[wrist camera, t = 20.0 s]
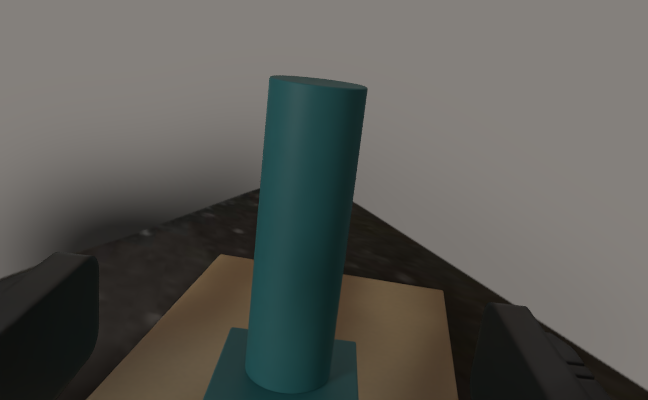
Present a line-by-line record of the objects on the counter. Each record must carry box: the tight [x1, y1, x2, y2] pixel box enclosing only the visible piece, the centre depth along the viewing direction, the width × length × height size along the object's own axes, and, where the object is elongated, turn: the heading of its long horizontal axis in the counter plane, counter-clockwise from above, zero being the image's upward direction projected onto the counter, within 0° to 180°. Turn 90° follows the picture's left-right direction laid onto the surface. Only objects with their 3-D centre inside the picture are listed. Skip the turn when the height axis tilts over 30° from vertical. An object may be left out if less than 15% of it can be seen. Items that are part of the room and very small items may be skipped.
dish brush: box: [203, 76, 367, 400], centre depth 19 cm, size 5×5×12 cm
